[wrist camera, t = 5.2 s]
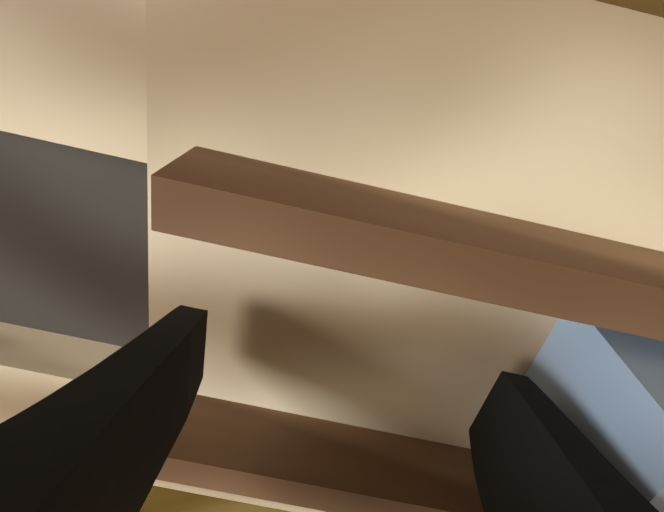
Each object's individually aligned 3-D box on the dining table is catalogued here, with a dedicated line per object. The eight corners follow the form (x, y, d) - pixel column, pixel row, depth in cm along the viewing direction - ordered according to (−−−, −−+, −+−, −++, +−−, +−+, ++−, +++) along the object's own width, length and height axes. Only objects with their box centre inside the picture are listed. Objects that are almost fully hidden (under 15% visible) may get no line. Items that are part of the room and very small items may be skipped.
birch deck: (749, 546, 17) (794, 606, 15) (-144, 373, 15) (-210, 416, 13) (1241, 183, 9) (1453, 218, 7) (-446, -241, 8) (-691, -326, 6)
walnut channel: (593, 495, 13) (630, 569, 11) (183, 414, 12) (152, 478, 10) (787, 279, 9) (893, 339, 7) (195, 145, 8) (151, 175, 6)
